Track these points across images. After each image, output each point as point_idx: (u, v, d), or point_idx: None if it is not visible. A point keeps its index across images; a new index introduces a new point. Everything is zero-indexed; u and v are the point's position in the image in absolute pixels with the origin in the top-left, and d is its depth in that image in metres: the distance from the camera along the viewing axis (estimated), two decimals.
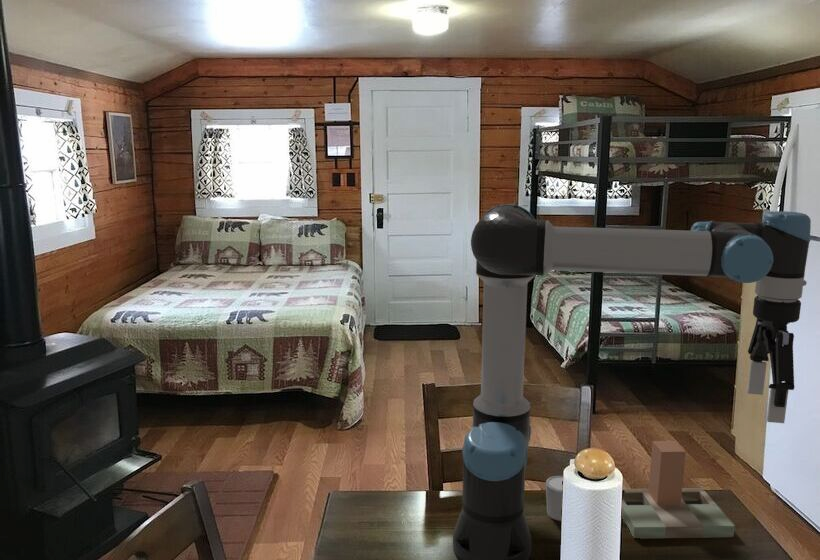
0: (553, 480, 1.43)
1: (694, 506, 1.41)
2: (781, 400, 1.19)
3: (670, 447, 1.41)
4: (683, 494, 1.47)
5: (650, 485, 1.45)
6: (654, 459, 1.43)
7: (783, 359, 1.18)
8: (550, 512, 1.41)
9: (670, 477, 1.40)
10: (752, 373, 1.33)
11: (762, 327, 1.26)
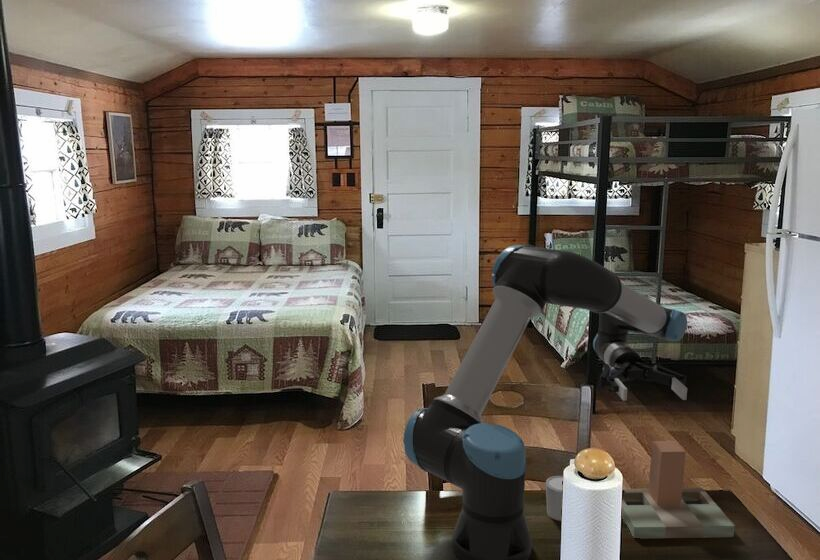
0: (553, 480, 1.43)
1: (694, 506, 1.41)
2: None
3: (670, 447, 1.41)
4: (683, 494, 1.47)
5: (650, 485, 1.45)
6: (654, 459, 1.43)
7: None
8: (550, 512, 1.41)
9: (670, 477, 1.40)
10: None
11: None
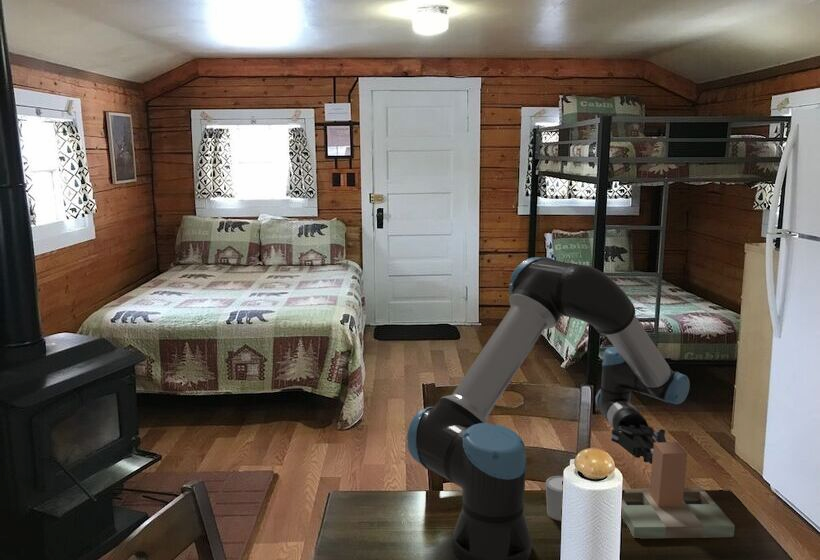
0: (553, 480, 1.43)
1: (694, 506, 1.41)
2: None
3: (671, 449, 1.40)
4: (683, 494, 1.47)
5: (651, 487, 1.45)
6: (655, 461, 1.42)
7: None
8: (550, 512, 1.41)
9: (671, 479, 1.40)
10: None
11: None
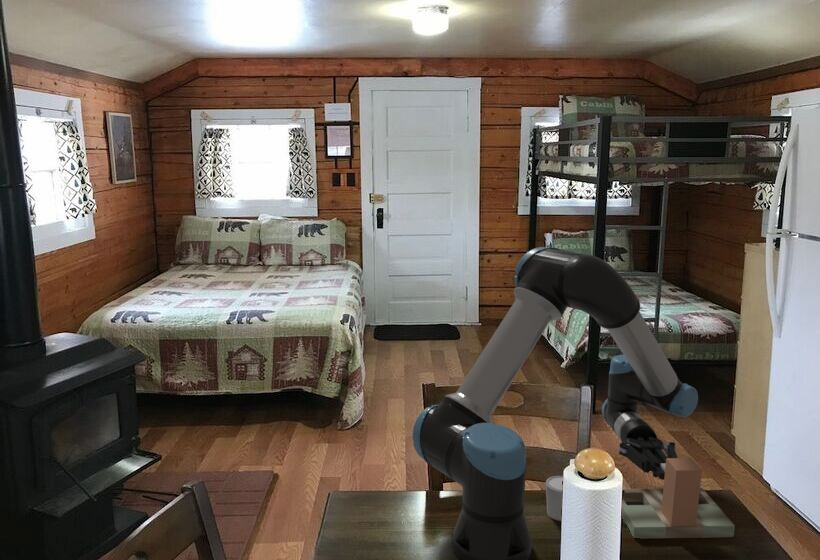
0: (553, 480, 1.43)
1: None
2: None
3: (685, 465, 1.33)
4: None
5: (663, 505, 1.38)
6: (668, 478, 1.35)
7: None
8: (550, 512, 1.41)
9: (685, 497, 1.33)
10: None
11: None
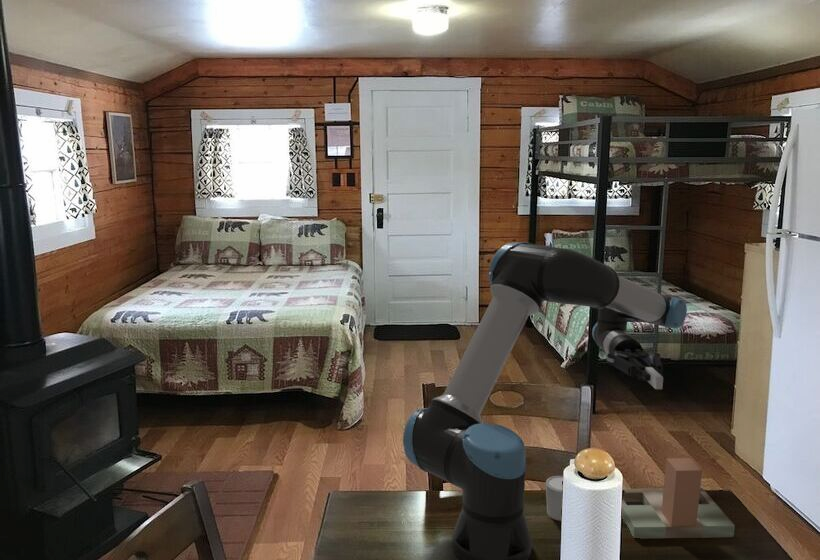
0: (553, 480, 1.43)
1: None
2: None
3: (685, 465, 1.33)
4: None
5: (663, 505, 1.38)
6: (668, 478, 1.35)
7: None
8: (550, 512, 1.41)
9: (685, 498, 1.33)
10: None
11: None
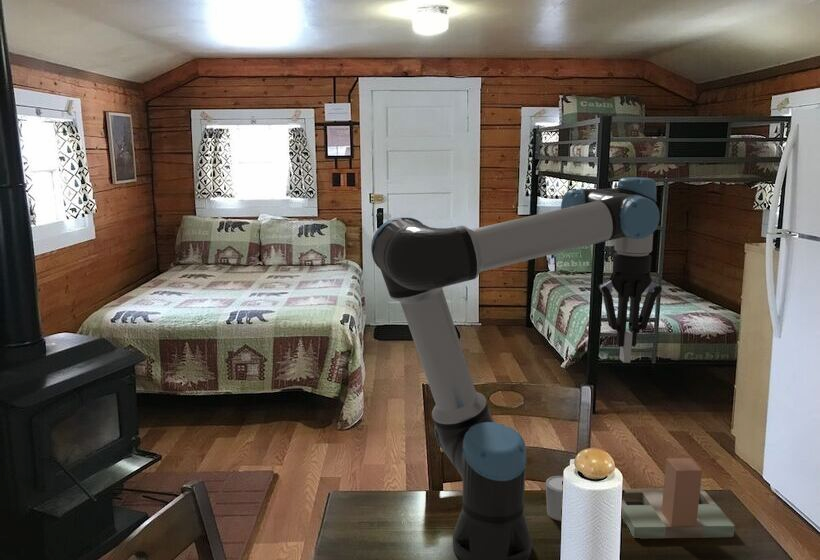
0: (553, 480, 1.43)
1: None
2: None
3: (685, 465, 1.33)
4: None
5: (663, 505, 1.38)
6: (668, 478, 1.35)
7: None
8: (550, 512, 1.41)
9: (685, 498, 1.33)
10: None
11: (627, 282, 1.41)
